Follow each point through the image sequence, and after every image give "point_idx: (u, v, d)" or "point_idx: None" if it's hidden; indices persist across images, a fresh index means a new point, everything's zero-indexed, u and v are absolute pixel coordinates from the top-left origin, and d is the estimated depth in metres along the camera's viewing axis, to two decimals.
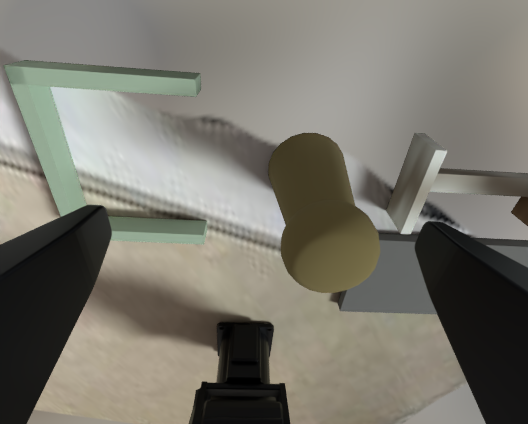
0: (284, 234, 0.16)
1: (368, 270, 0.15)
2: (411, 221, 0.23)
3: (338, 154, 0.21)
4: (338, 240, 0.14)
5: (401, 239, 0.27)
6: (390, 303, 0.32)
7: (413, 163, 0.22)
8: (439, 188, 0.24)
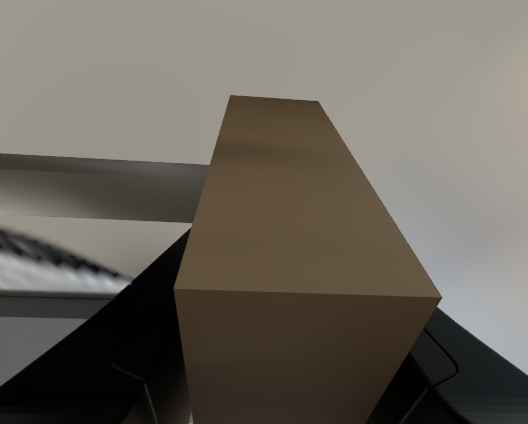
0: None
1: None
2: None
3: None
4: None
5: (2, 311, 0.12)
6: None
7: None
8: None
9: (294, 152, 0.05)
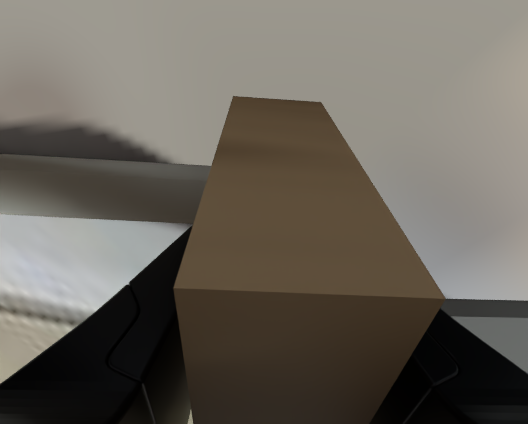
0: None
1: None
2: None
3: None
4: None
5: None
6: None
7: None
8: None
9: (296, 153, 0.05)
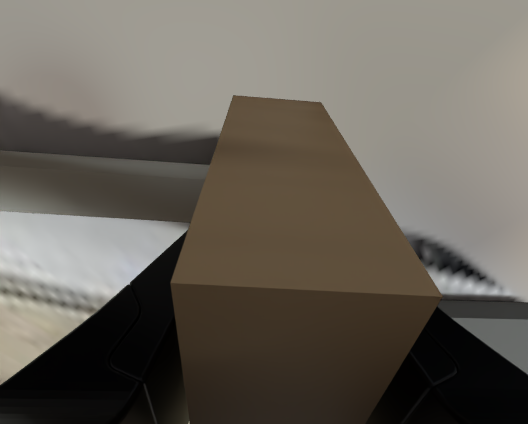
0: None
1: None
2: None
3: None
4: None
5: None
6: None
7: None
8: None
9: (295, 151, 0.05)
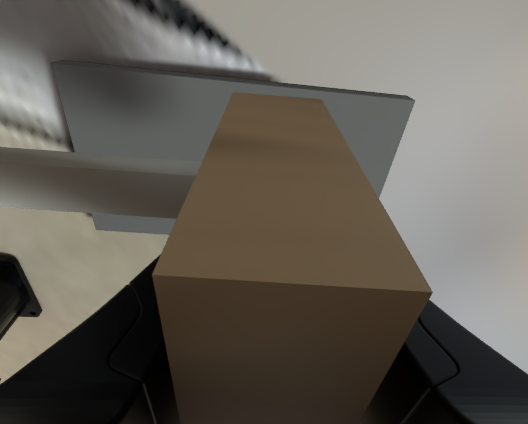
0: None
1: None
2: None
3: None
4: None
5: (129, 70, 0.15)
6: None
7: None
8: None
9: (291, 146, 0.05)
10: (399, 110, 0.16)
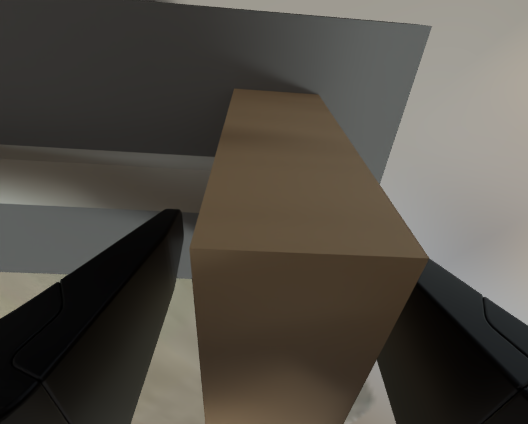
0: None
1: None
2: None
3: None
4: None
5: None
6: (42, 248, 0.12)
7: None
8: None
9: (295, 138, 0.06)
10: (401, 48, 0.08)
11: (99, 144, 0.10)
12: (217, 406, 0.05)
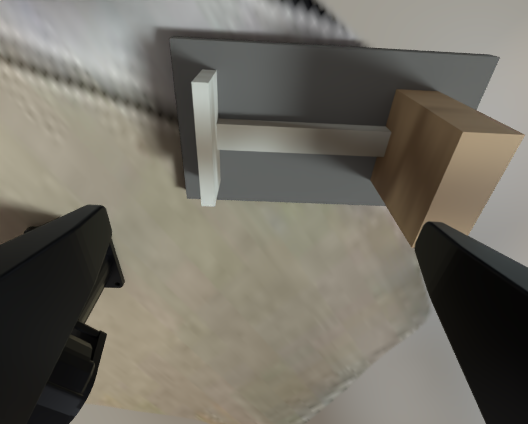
0: None
1: None
2: (207, 188, 0.17)
3: None
4: None
5: (236, 41, 0.16)
6: (259, 183, 0.21)
7: None
8: (254, 146, 0.18)
9: (454, 109, 0.14)
10: (483, 67, 0.17)
11: (317, 120, 0.18)
12: (435, 206, 0.14)
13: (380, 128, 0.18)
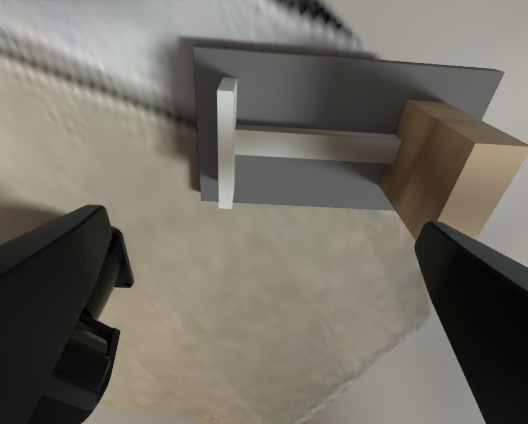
0: None
1: None
2: (225, 191, 0.18)
3: None
4: None
5: (256, 51, 0.17)
6: (272, 187, 0.22)
7: None
8: (270, 152, 0.19)
9: (464, 121, 0.15)
10: (489, 81, 0.18)
11: (330, 127, 0.19)
12: (446, 211, 0.15)
13: (390, 136, 0.19)
